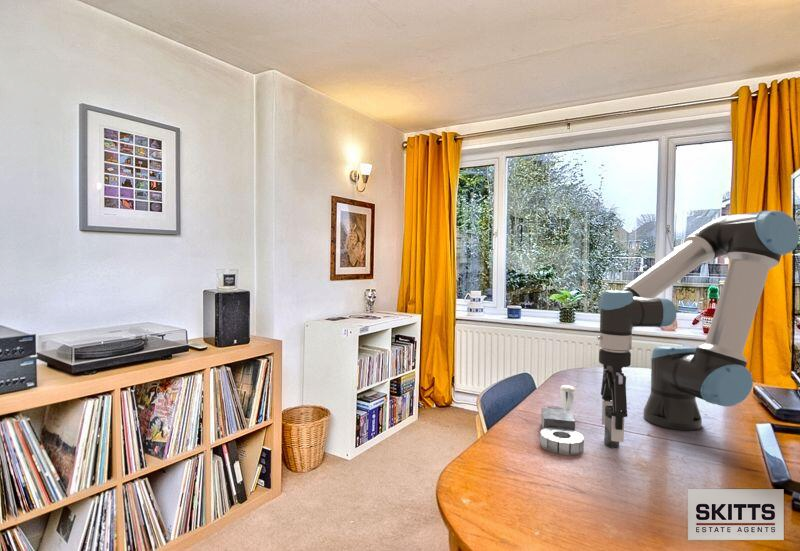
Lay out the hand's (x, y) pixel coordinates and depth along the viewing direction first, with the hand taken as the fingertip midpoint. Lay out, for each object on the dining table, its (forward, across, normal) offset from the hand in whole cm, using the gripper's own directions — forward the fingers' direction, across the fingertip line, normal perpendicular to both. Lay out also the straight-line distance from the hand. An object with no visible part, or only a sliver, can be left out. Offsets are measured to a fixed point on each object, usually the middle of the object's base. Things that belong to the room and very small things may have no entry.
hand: (612, 432), depth 116 cm
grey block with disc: (+4, -2, -13) cm, 14 cm away
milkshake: (+4, -22, -8) cm, 24 cm away
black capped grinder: (+4, 0, 0) cm, 4 cm away
